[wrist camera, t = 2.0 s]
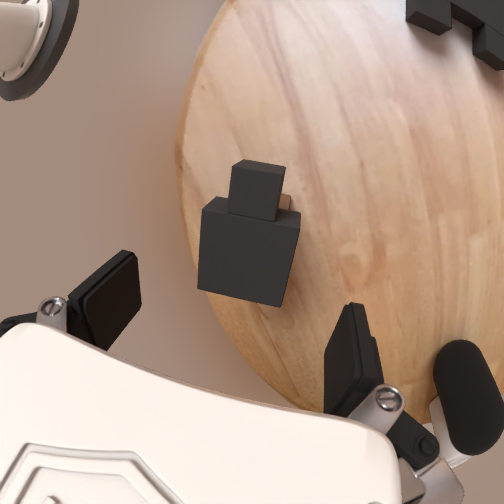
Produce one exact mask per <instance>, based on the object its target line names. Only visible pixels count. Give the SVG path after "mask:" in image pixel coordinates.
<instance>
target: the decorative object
mask: <svg viewBox="0 0 504 504" xmlns="http://www.w3.org/2000/svg"><path fill="white" fill-rule="evenodd" d="M433 377H434V382H435V385H436V389H437V392H438V395H439V399H440V402H441V406H442V409H443V413H444V417H445V421H446V425H447V429H448V433H449V438H450V441H451V443H452V445H453V446H454V448H455V449H456V450H457V451H458V452H460V453H462V454H464V455H468V456H473V455H479V454H482V453H484V452H486V451H487V450H488V449H490V448H491V447H492V446H493V445H494V444H495V443H496V442H497V441H498V439H499V438H500V436H501V434H502V432H503V429H504V402H503V400H502V397H501V394H500V392H499V389H498V387H497V385H496V382H495V380H494V378H493V376H492V373H491V371H490V369H489V367H488V365H487V363H486V361H485V359H484V357H483V355H482V353H481V351H480V349H479V348H478V347H477V346H476V345H475V344H474V343H472V342H470V341H467V340H455V341H452V342H450V343H449V344H447V345H446V346H445V347H444V348H443V349H442V350H441V351H440V352H439V354H438V356H437V358H436V360H435V363H434V368H433Z"/></svg>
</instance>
